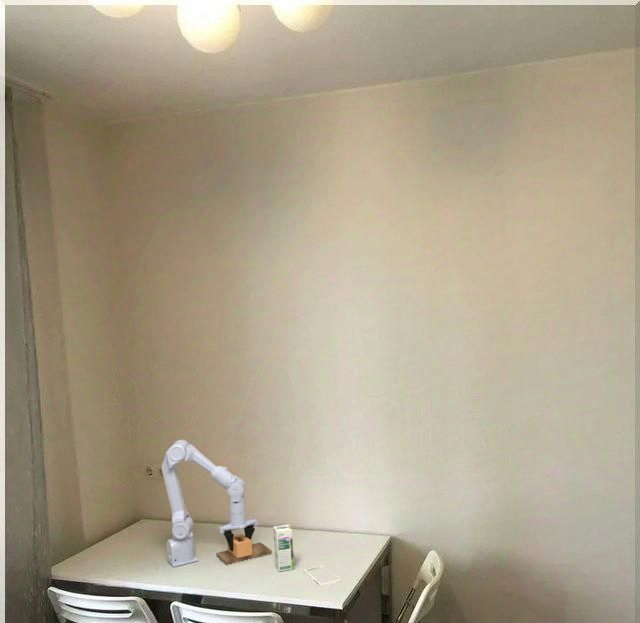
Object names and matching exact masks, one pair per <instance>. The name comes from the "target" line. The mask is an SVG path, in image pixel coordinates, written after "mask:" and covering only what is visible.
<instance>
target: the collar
mask: <svg viewBox="0 0 640 623" xmlns="http://www.w3.org/2000/svg"><path fill="white" fill-rule="evenodd" d="M239 541H240V542H239ZM252 544H253V541H252V539H251V540H250V539H248V538H247V537H245V534H237V535H234V537H233V551H231V550H230V548H229V545H228V544H227V550H228V551H229V552H230V553H231V554H233V555H234V556H235V557H236V558H240V557H244V556H248V555H252Z"/></svg>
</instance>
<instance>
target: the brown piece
mask: <svg viewBox="0 0 640 623" xmlns="http://www.w3.org/2000/svg"><path fill="white" fill-rule="evenodd" d="M239 542H240V541H239ZM272 552H273V551H272V549H271V548H269V547H268V546H266V545H265V544H263V543H262V542H256V543H252V555H248V556H244V557H240V558H236V557H235V556H234V555H233V554H231V553H230V552H229V551H228V549H227V550H223V551H219V552H216V556H215V557H216V558H217V557H218V558H219V559H218V558H217V559H218V560H219V561H221V562H222V563H223V562H224V563H225V564H224V563H223V564H224V565H226V566H229V565H228V564H230V565H233V564H232V563H234V564H237V563H236V562H238V563H241V562H240V561H242V562H245V561H244V560H246V561H249V560H248V559H250V560H252V558H254V559H256V557H257V558H261V557H264V556H263V555H265V556H268V555H267V554H269V555H272V554H271V553H272ZM260 556H261V557H260Z"/></svg>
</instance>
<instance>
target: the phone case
mask: <svg viewBox="0 0 640 623" xmlns="http://www.w3.org/2000/svg"><path fill="white" fill-rule="evenodd" d="M315 568H319V569H323V568H324V569H323V570H325V571H326V572H327V571H328V572H329V574H330V575H331V574H332V575H333V576H334V577H335V580H332V581H329V582H325V583H321V582H320V581H318V580H317V578H315V577H314V576H313V575H312V574H310V572H308V570H311V569H315ZM303 572H305V573H306V575H307V576H308V577H309V576H310V577H311V578H312V579H313V581H314V580H315V582H316V583H317V584H318V586H319V585H320V586H319V587H321V586H324V587H326V586H325V585H328V586H330V585H329V584H332V585H334V584H333V583H336V584H340V583H341V578H340V577H338V576H337V575H336V574H335V573H333V572H332V571H331V570H329V569H328V568H327V567H326V566H324V565H323V564H321V565H317V566H312V567H308V568H304V569H303ZM328 572H327V573H328ZM305 573H304V574H305ZM332 575H331V576H332ZM333 576H332V577H333ZM310 577H309V578H310ZM311 578H310V579H311ZM336 578H337V579H338V580H337V579H336ZM339 582H340V583H339Z"/></svg>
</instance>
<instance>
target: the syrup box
mask: <svg viewBox="0 0 640 623" xmlns="http://www.w3.org/2000/svg"><path fill="white" fill-rule="evenodd" d="M272 528H273V530H272V531H273V543H274V544H273V546H274V547H273V548H274V562H275V567H277V568H276V569H277V571H278V572H279V571H281V572H286V571H292V570H295V560H294V559H295V556H294V542H293V540H294V538H293V529H292V527H291V525H290V524H283V525H277V526H273V527H272Z"/></svg>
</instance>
